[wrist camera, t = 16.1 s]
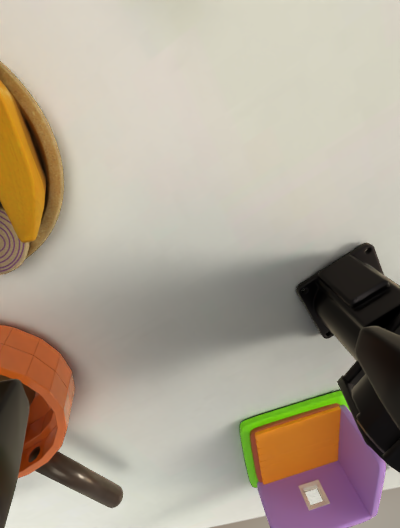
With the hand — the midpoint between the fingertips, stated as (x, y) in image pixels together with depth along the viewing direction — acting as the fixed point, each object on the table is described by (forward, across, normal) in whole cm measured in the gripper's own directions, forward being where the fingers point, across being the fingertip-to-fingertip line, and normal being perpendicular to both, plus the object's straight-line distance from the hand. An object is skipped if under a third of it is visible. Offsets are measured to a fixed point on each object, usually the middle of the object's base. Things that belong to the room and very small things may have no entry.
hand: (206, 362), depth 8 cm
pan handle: (+11, +8, +20) cm, 24 cm away
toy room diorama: (+13, -13, +26) cm, 32 cm away
